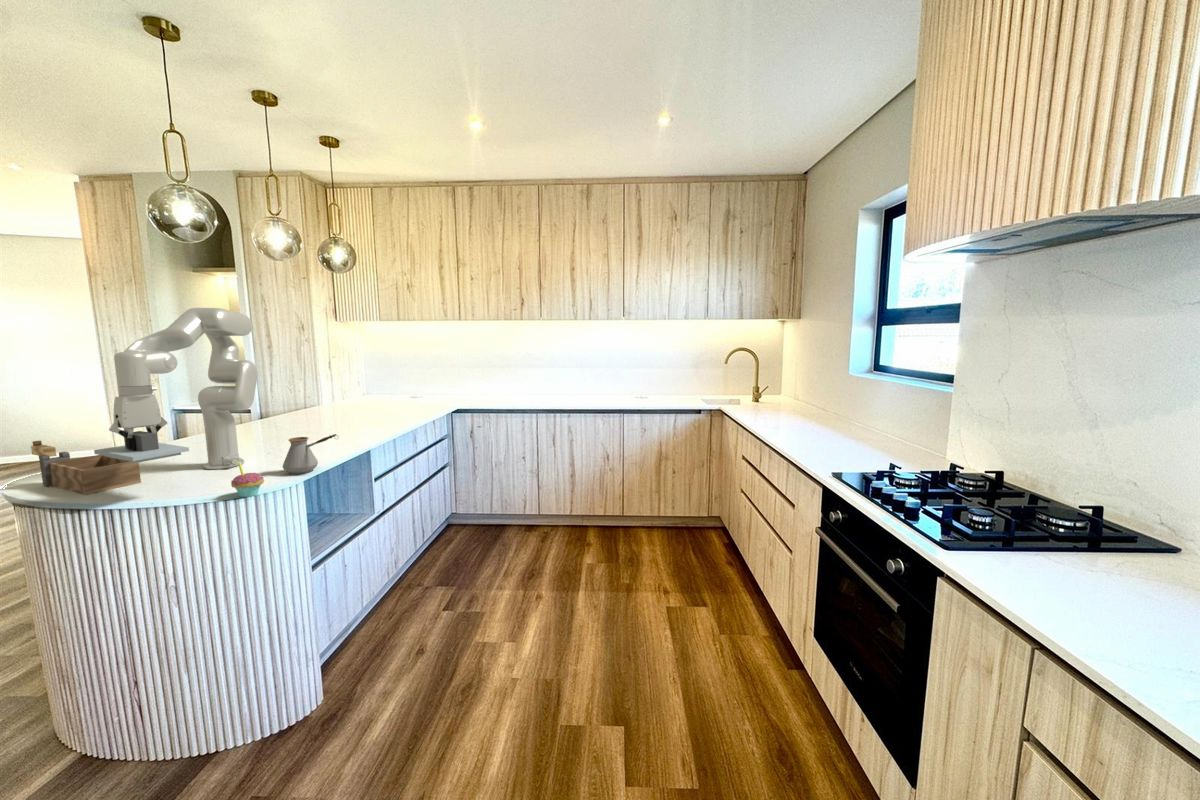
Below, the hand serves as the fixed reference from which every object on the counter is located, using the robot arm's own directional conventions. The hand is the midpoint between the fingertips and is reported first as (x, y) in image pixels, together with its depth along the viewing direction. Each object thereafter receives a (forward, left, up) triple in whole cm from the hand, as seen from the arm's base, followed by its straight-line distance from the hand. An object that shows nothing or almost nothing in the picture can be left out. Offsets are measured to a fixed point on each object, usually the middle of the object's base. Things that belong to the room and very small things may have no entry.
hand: (142, 447), depth 149 cm
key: (+49, +6, -6) cm, 50 cm away
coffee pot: (-24, -39, -16) cm, 49 cm away
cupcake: (-29, -13, -16) cm, 36 cm away
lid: (0, 0, -2) cm, 2 cm away
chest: (+31, +1, -16) cm, 34 cm away
